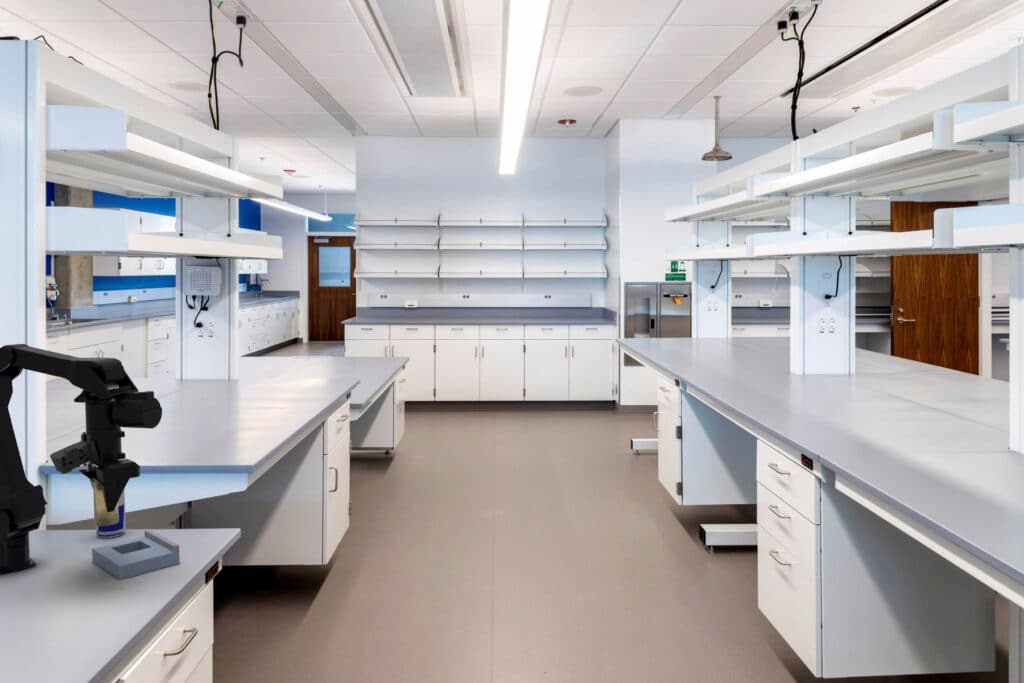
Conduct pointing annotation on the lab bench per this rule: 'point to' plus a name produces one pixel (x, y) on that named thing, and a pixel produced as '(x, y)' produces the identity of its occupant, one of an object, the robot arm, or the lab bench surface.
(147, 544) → the jig
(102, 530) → the beverage can
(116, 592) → the lab bench surface
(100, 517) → the cylinder
